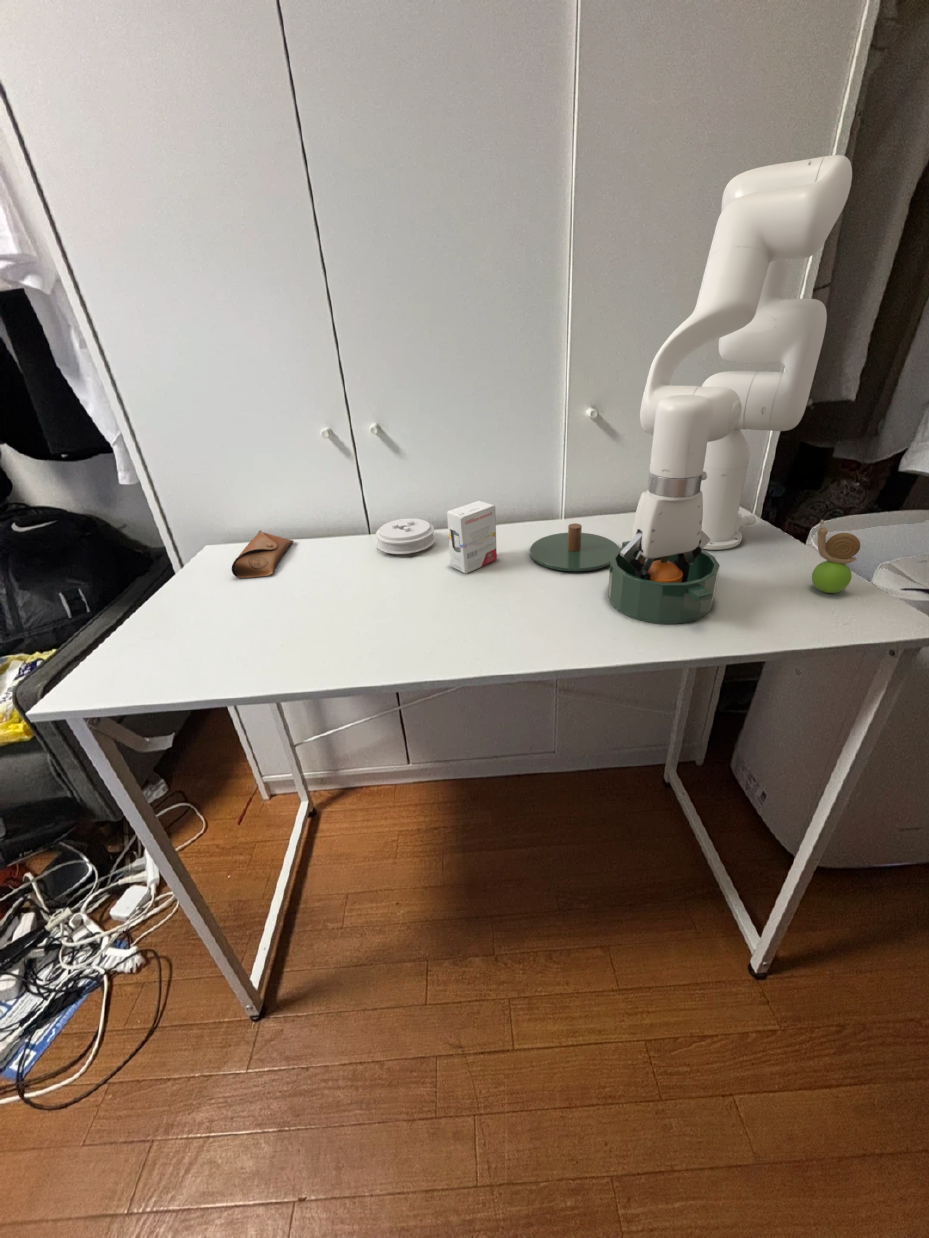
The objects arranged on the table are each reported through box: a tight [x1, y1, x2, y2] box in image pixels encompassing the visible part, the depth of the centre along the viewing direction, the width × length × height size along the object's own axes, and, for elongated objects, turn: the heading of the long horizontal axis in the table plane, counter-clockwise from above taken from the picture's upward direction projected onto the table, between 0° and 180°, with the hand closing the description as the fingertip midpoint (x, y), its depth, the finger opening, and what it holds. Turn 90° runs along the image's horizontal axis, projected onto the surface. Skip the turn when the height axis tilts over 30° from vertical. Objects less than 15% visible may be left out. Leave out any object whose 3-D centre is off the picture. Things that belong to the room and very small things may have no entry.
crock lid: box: [529, 522, 620, 572], centre depth 108 cm, size 18×18×6 cm
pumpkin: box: [647, 556, 683, 583], centre depth 90 cm, size 6×6×7 cm
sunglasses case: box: [231, 529, 294, 579], centre depth 118 cm, size 18×7×7 cm
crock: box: [607, 540, 721, 625], centre depth 91 cm, size 17×22×7 cm
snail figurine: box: [811, 519, 861, 594], centre depth 88 cm, size 5×6×12 cm
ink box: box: [446, 500, 498, 575], centre depth 106 cm, size 9×5×12 cm, turn 129°
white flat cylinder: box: [375, 517, 436, 555], centre depth 118 cm, size 13×13×5 cm
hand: (659, 587), depth 91 cm, fingers closed on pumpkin, 6 cm apart
